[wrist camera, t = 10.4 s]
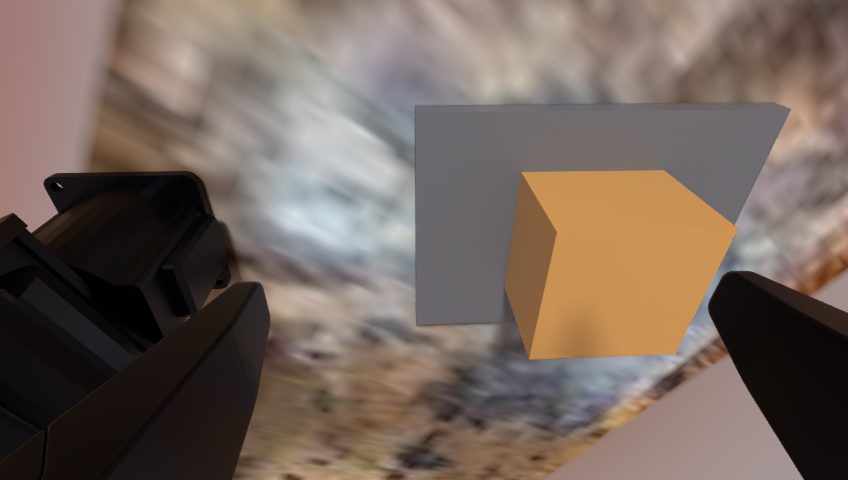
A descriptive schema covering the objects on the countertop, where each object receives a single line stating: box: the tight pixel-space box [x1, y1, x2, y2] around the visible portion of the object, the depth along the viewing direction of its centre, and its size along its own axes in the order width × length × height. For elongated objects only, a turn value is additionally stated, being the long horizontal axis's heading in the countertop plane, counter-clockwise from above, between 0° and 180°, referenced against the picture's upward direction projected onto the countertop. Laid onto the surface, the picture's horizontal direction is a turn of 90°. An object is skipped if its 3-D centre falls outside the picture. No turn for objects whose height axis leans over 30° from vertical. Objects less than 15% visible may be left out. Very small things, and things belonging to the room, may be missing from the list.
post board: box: [415, 103, 791, 325], centre depth 20 cm, size 16×12×4 cm
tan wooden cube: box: [504, 170, 738, 360], centre depth 19 cm, size 7×7×5 cm
